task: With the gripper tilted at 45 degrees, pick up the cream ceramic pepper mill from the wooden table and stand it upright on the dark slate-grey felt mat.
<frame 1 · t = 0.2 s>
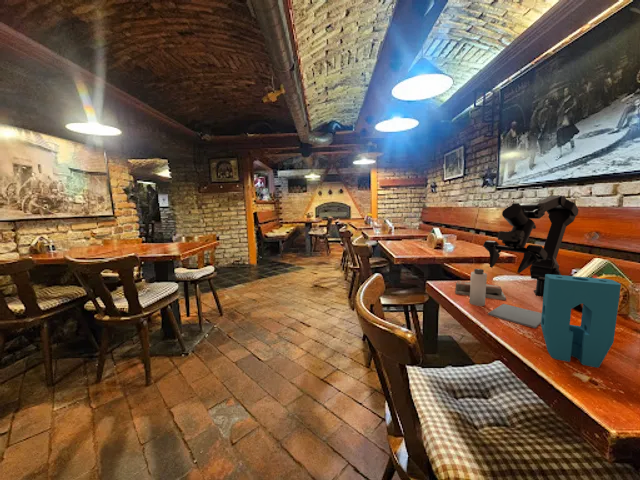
hand: (504, 269, 91), 14 cm above the table, tool tilted 35°, fingers open, 9 cm apart
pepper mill: (477, 303, 98), on the table
block: (571, 358, 62), on the table
felt mat: (517, 315, 86), on the table
packaged product: (478, 294, 109), on the table
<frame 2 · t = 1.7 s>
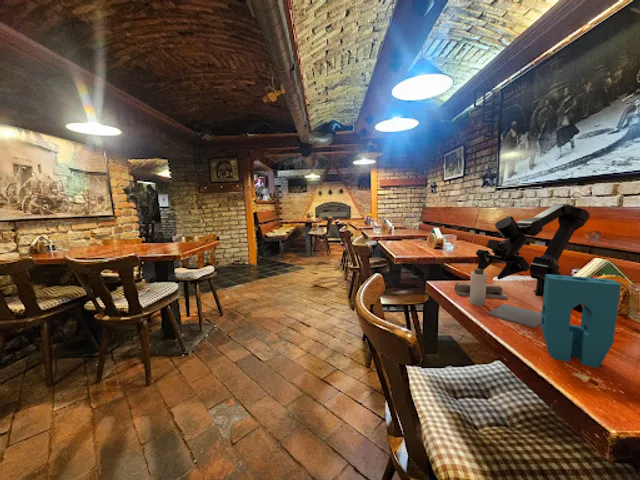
hand: (487, 275, 98), 11 cm above the table, tool tilted 45°, fingers open, 9 cm apart
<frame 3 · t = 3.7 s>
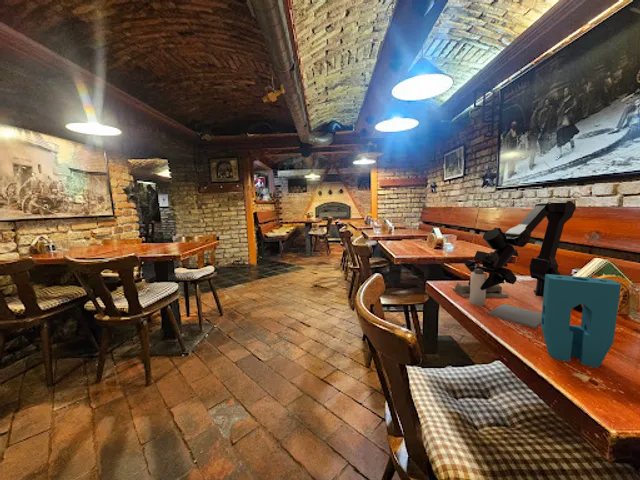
hand: (475, 287, 97), 7 cm above the table, tool tilted 45°, fingers closed on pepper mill, 5 cm apart
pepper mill: (477, 303, 98), on the table, touching gripper
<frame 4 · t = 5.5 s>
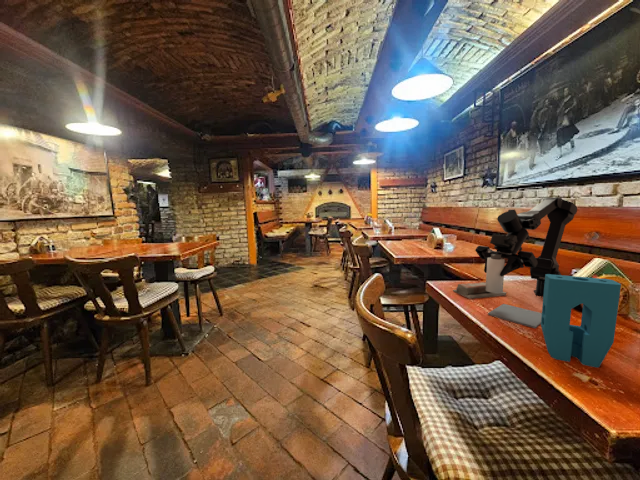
hand: (492, 273, 90), 13 cm above the table, tool tilted 45°, fingers closed on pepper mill, 5 cm apart
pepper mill: (494, 290, 92), point 7 cm above the table, touching gripper
when the fingers open (8 cm above the table, at t = 7.7 s): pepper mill stays where it is, resting on felt mat.
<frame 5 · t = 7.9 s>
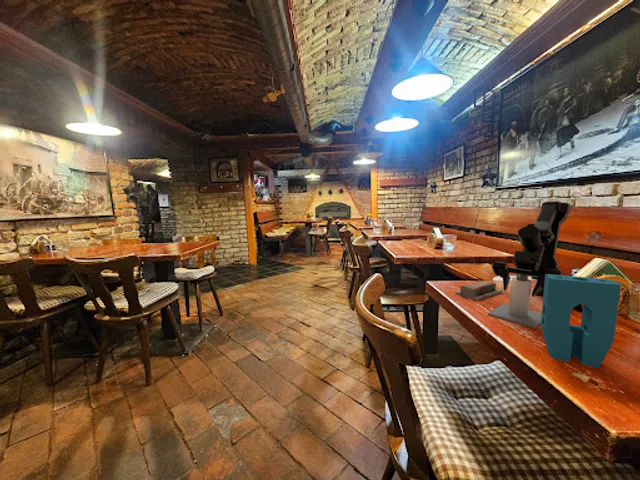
hand: (518, 293, 84), 8 cm above the table, tool tilted 45°, fingers open, 7 cm apart
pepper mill: (517, 313, 86), point 1 cm above the table, touching felt mat
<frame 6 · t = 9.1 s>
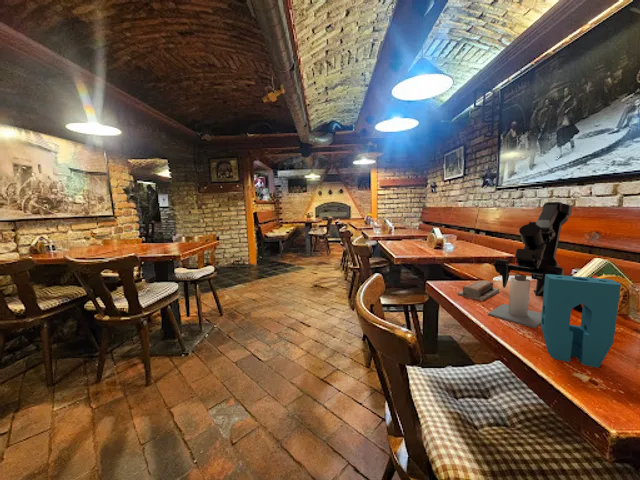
hand: (519, 290, 85), 9 cm above the table, tool tilted 45°, fingers open, 9 cm apart
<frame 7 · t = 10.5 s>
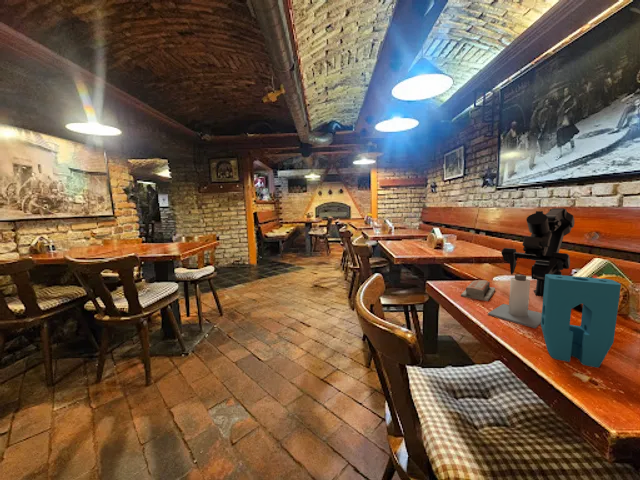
hand: (527, 276, 89), 13 cm above the table, tool tilted 45°, fingers open, 9 cm apart
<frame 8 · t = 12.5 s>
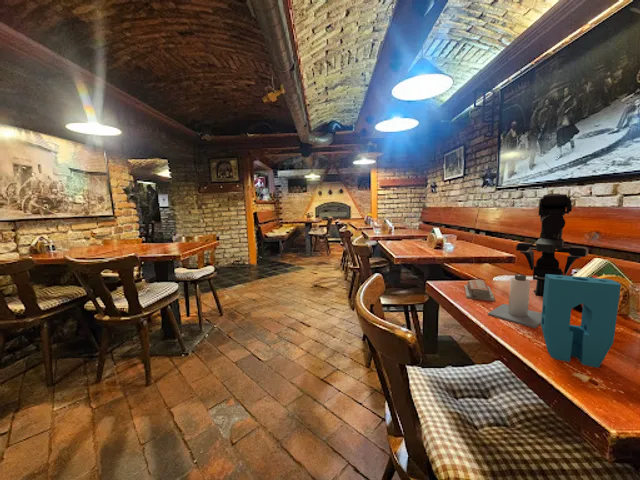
hand: (547, 272, 92), 13 cm above the table, tool pointing down, fingers open, 9 cm apart
at the end: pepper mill inside the target area on the felt mat (0.1 cm from its centre), point 0.6 cm above the felt mat's base; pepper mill tilted 1°; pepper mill touching felt mat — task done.
